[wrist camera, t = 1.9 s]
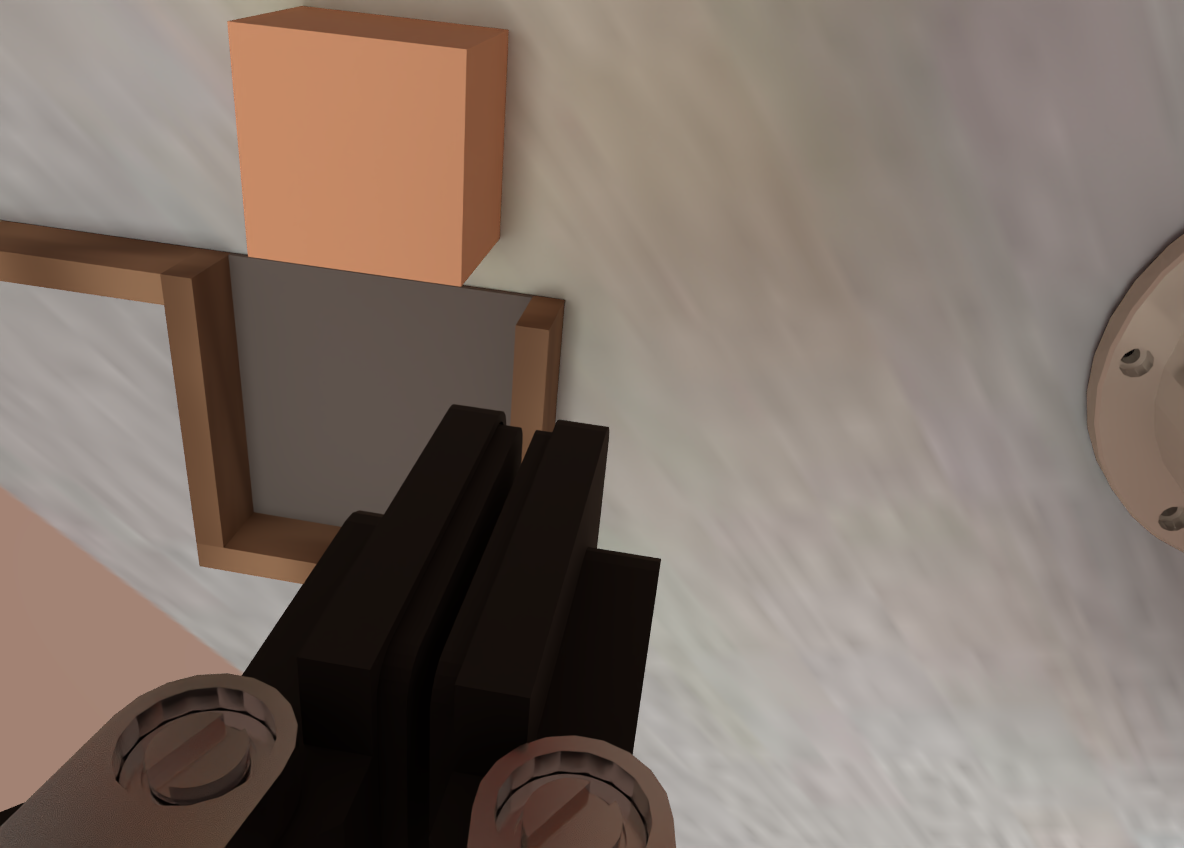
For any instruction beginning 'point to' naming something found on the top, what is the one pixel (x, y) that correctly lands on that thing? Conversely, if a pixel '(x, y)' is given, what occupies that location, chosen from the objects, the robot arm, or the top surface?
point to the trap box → (306, 378)
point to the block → (370, 141)
